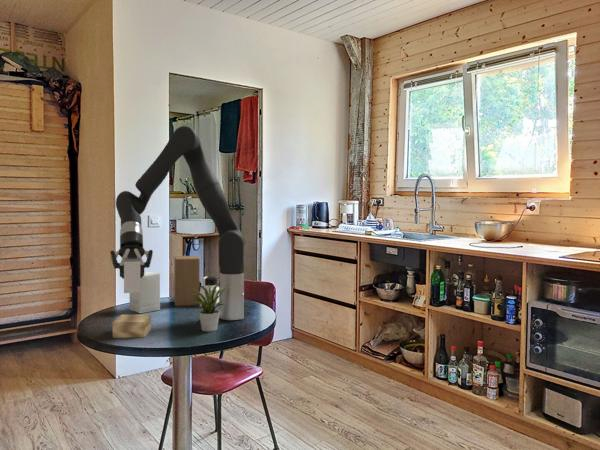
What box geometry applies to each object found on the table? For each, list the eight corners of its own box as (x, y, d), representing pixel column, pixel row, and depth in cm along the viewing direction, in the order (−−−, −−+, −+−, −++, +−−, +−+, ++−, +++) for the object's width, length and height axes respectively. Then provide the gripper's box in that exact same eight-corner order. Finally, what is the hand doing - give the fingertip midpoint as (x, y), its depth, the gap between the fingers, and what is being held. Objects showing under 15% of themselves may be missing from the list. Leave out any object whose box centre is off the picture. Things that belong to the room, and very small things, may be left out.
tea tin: (140, 289, 159) (140, 256, 158) (140, 292, 154) (140, 258, 153) (123, 290, 157) (123, 257, 156) (123, 293, 152) (123, 259, 151)
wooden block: (174, 301, 205) (174, 256, 204) (197, 300, 208) (197, 255, 207) (175, 306, 196) (175, 258, 195) (199, 305, 199) (199, 258, 198)
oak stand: (151, 328, 161) (151, 314, 161) (144, 337, 151) (144, 321, 151) (121, 329, 160) (120, 314, 160) (112, 337, 150) (112, 322, 150)
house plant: (228, 322, 172) (228, 277, 171) (237, 332, 159) (237, 284, 158) (188, 325, 167) (189, 279, 166) (194, 335, 154) (195, 286, 153)
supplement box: (160, 310, 188) (160, 273, 188) (139, 314, 182) (139, 275, 181) (149, 306, 195) (149, 270, 194) (128, 310, 188) (128, 273, 187)
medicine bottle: (219, 302, 204) (219, 275, 203) (216, 306, 197) (217, 278, 196) (202, 302, 203) (202, 275, 203) (199, 306, 196) (199, 278, 196)
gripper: (109, 230, 159) (108, 270, 148) (153, 230, 164) (155, 269, 153) (109, 244, 164) (108, 284, 153) (152, 243, 169) (154, 282, 158)
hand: (132, 276), depth 153 cm, fingers closed on tea tin, 5 cm apart
